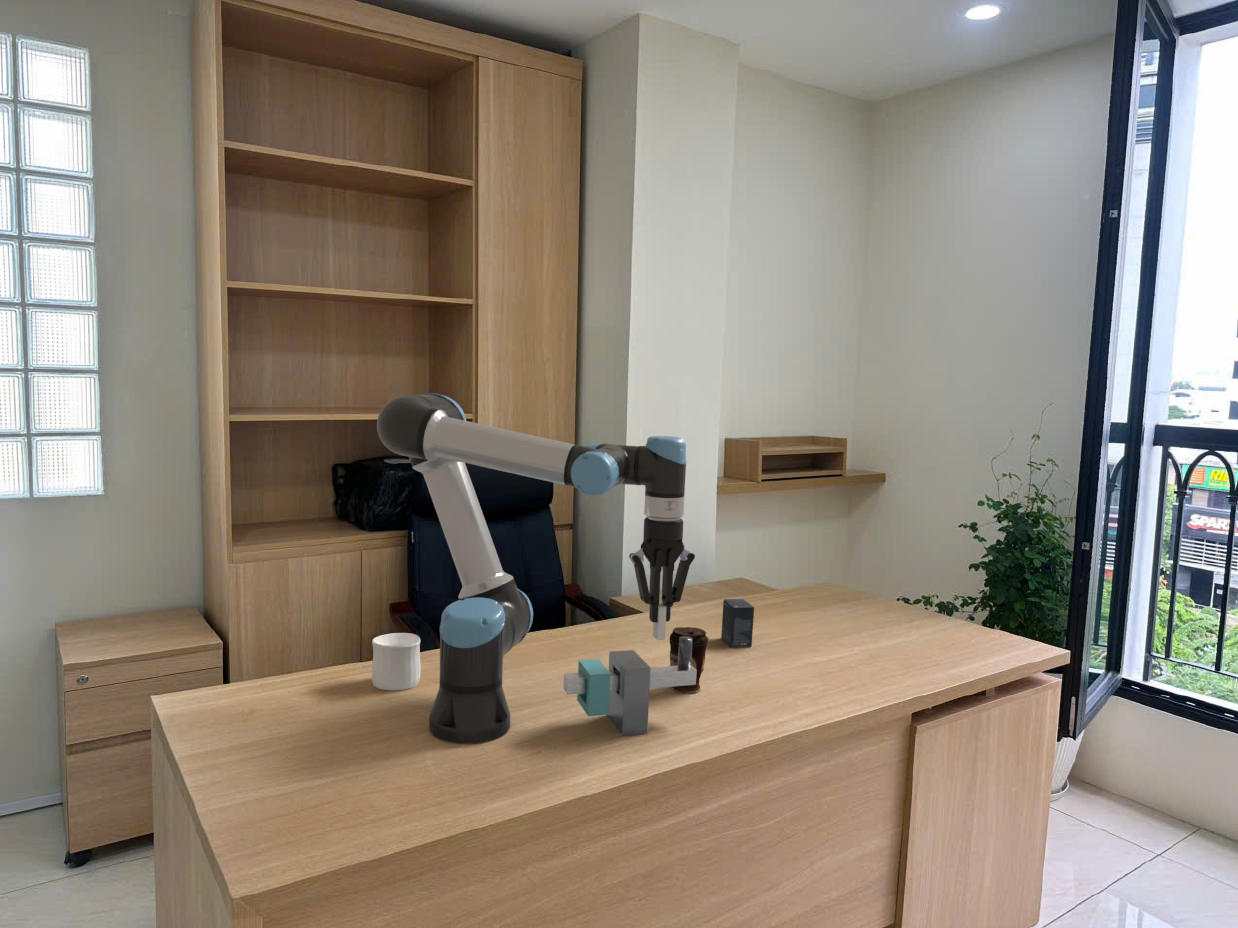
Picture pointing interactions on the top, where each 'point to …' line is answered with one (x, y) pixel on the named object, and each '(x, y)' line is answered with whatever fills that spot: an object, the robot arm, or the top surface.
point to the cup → (396, 661)
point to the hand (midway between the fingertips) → (659, 637)
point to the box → (737, 622)
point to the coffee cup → (697, 653)
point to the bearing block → (630, 693)
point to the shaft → (658, 675)
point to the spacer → (595, 687)
